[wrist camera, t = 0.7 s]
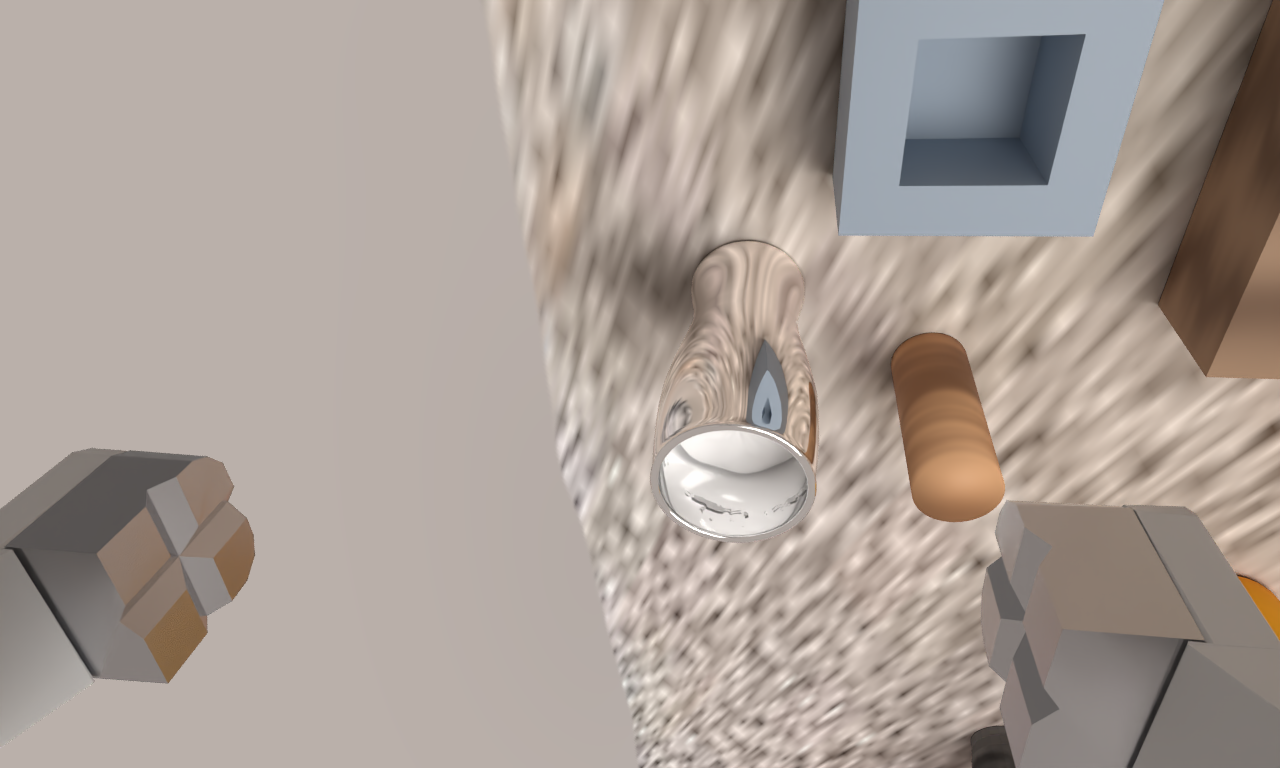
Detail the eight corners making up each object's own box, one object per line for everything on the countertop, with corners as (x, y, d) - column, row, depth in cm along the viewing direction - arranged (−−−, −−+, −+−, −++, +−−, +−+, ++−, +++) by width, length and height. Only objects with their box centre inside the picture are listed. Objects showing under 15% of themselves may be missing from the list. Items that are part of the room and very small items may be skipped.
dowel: (895, 331, 44) (918, 457, 36) (973, 333, 43) (1013, 462, 35) (886, 389, 46) (906, 519, 38) (960, 392, 45) (995, 524, 38)
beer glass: (713, 357, 46) (688, 560, 35) (661, 258, 43) (614, 447, 31) (831, 321, 44) (846, 527, 32) (785, 212, 40) (784, 399, 29)
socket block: (851, -57, 33) (861, -25, 28) (1118, -71, 31) (1175, -39, 26) (832, 176, 39) (838, 235, 34) (1054, 175, 37) (1093, 236, 32)
